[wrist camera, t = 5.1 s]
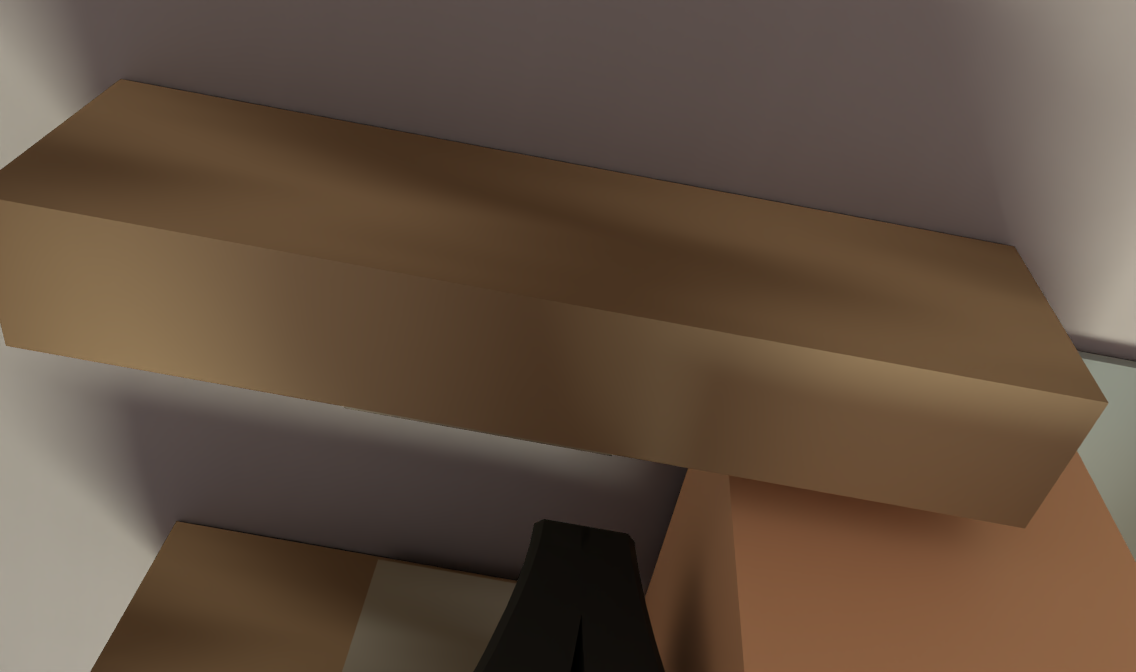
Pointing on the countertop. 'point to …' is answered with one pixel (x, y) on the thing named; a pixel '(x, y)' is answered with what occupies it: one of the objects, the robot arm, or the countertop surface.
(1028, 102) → the countertop surface
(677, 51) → the countertop surface
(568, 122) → the countertop surface
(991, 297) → the chute
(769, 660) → the block
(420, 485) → the countertop surface
